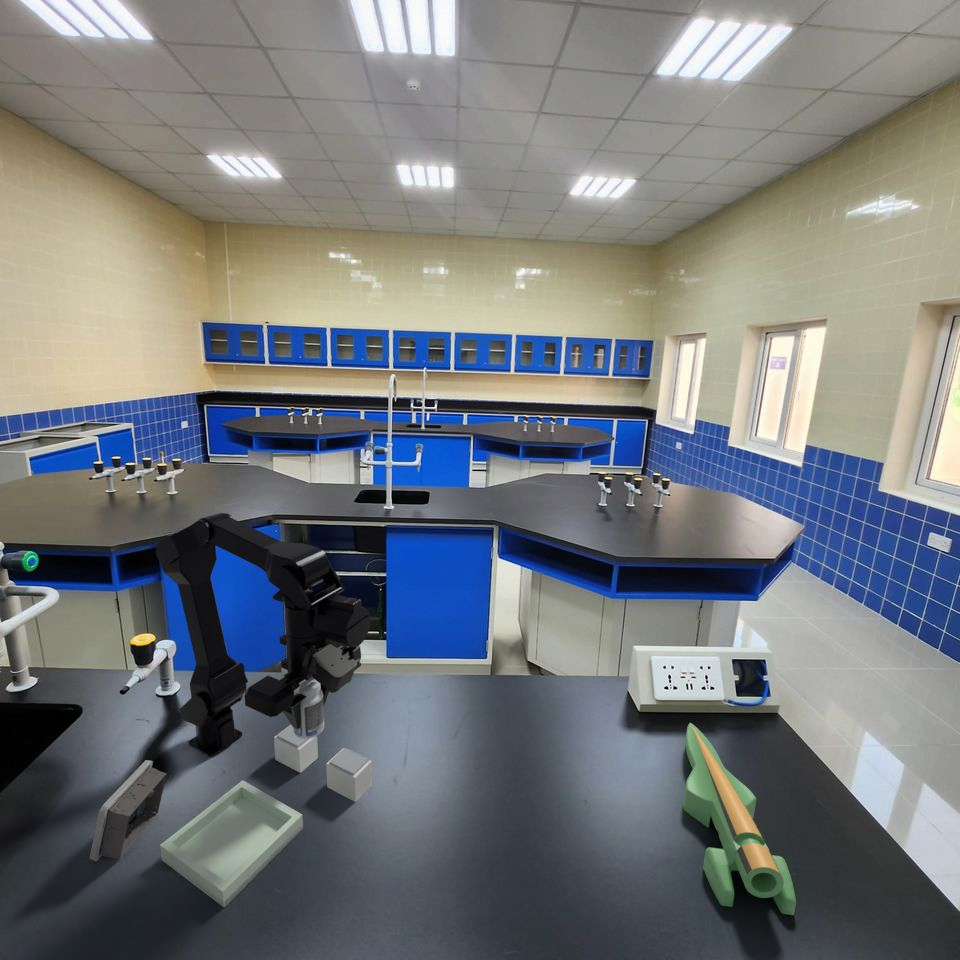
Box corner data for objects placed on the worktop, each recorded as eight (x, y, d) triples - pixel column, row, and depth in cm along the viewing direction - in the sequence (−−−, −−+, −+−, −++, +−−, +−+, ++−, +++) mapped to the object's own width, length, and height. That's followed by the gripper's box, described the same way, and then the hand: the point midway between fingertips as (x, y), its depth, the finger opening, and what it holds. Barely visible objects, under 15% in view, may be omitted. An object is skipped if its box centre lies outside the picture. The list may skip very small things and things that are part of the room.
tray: (161, 860, 70) (160, 845, 70) (243, 793, 82) (242, 780, 81) (224, 907, 64) (222, 891, 64) (303, 828, 76) (302, 814, 75)
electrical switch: (138, 806, 79) (137, 755, 77) (170, 812, 78) (170, 761, 76) (88, 864, 69) (85, 807, 67) (125, 870, 69) (123, 814, 67)
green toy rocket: (659, 737, 98) (663, 703, 96) (716, 743, 97) (721, 709, 95) (715, 907, 67) (723, 861, 65) (801, 919, 66) (810, 873, 64)
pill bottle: (327, 719, 85) (326, 674, 83) (320, 739, 80) (318, 692, 78) (298, 719, 84) (296, 674, 83) (289, 739, 80) (287, 692, 78)
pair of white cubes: (275, 759, 89) (273, 735, 88) (293, 745, 92) (292, 721, 91) (355, 802, 81) (355, 775, 80) (372, 784, 84) (371, 759, 83)
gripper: (297, 675, 67) (301, 777, 70) (384, 617, 83) (384, 702, 87) (238, 652, 72) (245, 748, 75) (332, 601, 88) (334, 682, 91)
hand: (308, 718), depth 82 cm, fingers closed on pill bottle, 5 cm apart
